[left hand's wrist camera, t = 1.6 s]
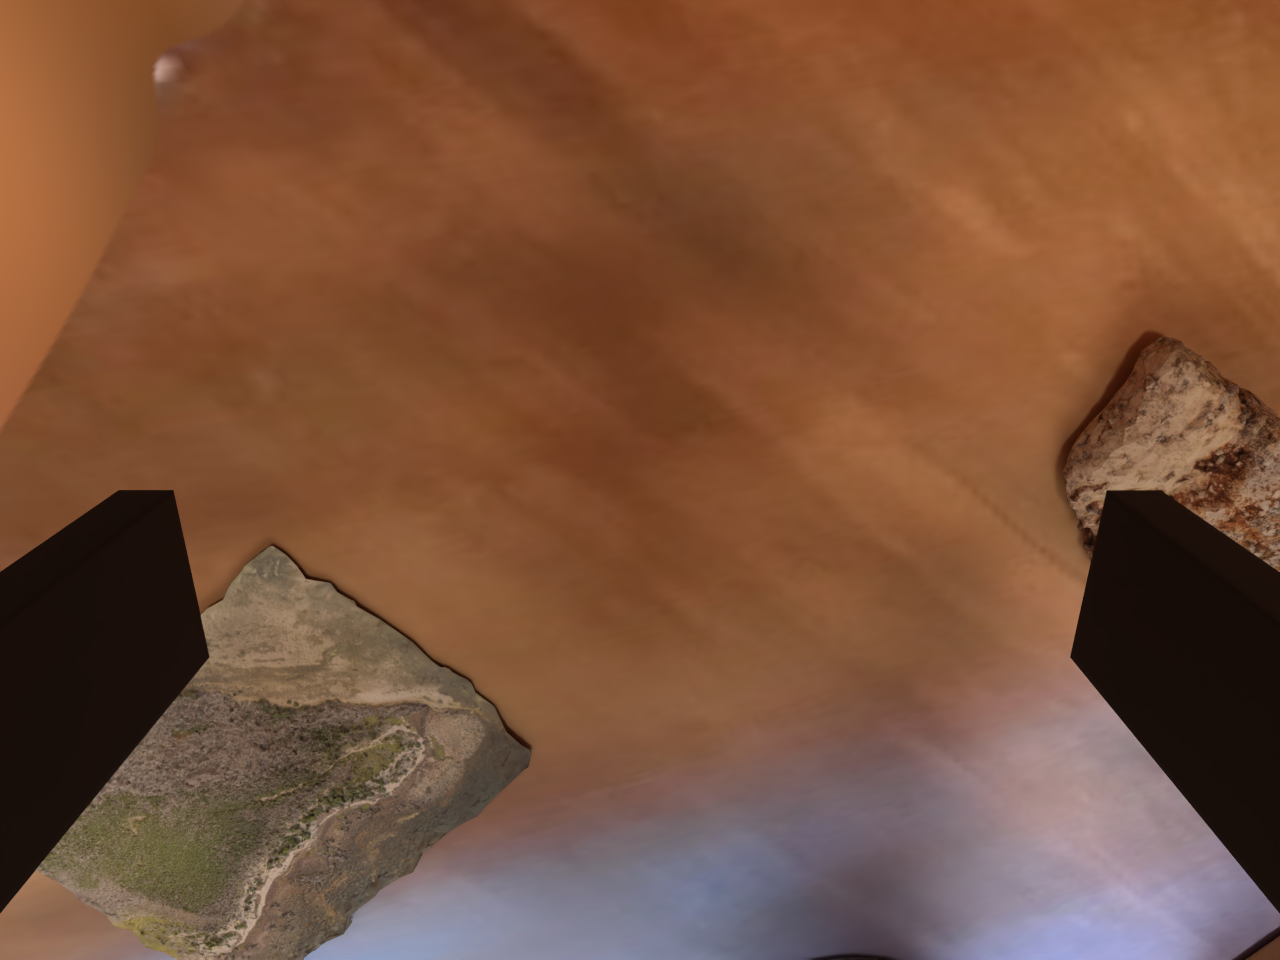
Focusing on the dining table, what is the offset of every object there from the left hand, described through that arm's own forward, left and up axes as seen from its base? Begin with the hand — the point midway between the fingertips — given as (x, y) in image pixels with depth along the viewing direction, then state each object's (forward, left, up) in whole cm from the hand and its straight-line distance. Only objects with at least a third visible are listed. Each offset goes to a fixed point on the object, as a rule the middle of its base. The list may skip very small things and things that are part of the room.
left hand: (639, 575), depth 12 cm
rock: (-10, -26, -28) cm, 40 cm away
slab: (-29, +21, -28) cm, 46 cm away
